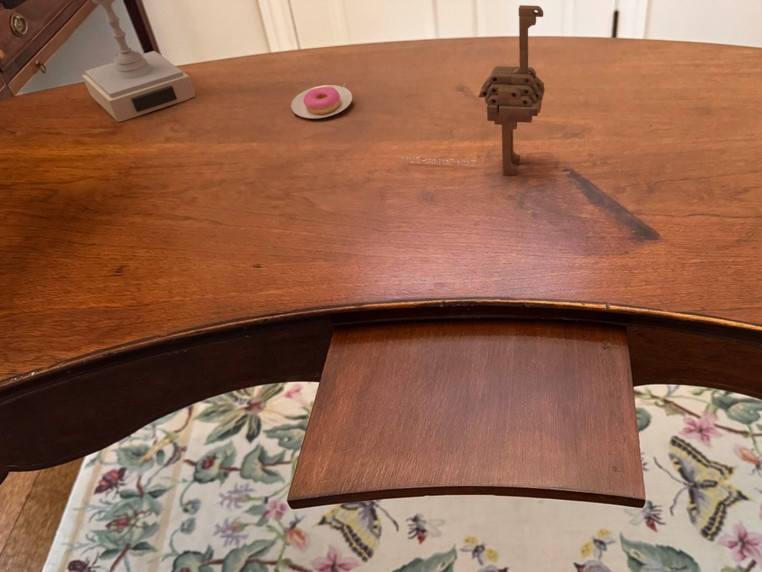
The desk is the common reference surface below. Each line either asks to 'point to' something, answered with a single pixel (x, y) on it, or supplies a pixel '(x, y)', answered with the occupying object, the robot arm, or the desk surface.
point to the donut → (321, 101)
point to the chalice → (124, 49)
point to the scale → (139, 88)
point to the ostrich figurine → (511, 95)
